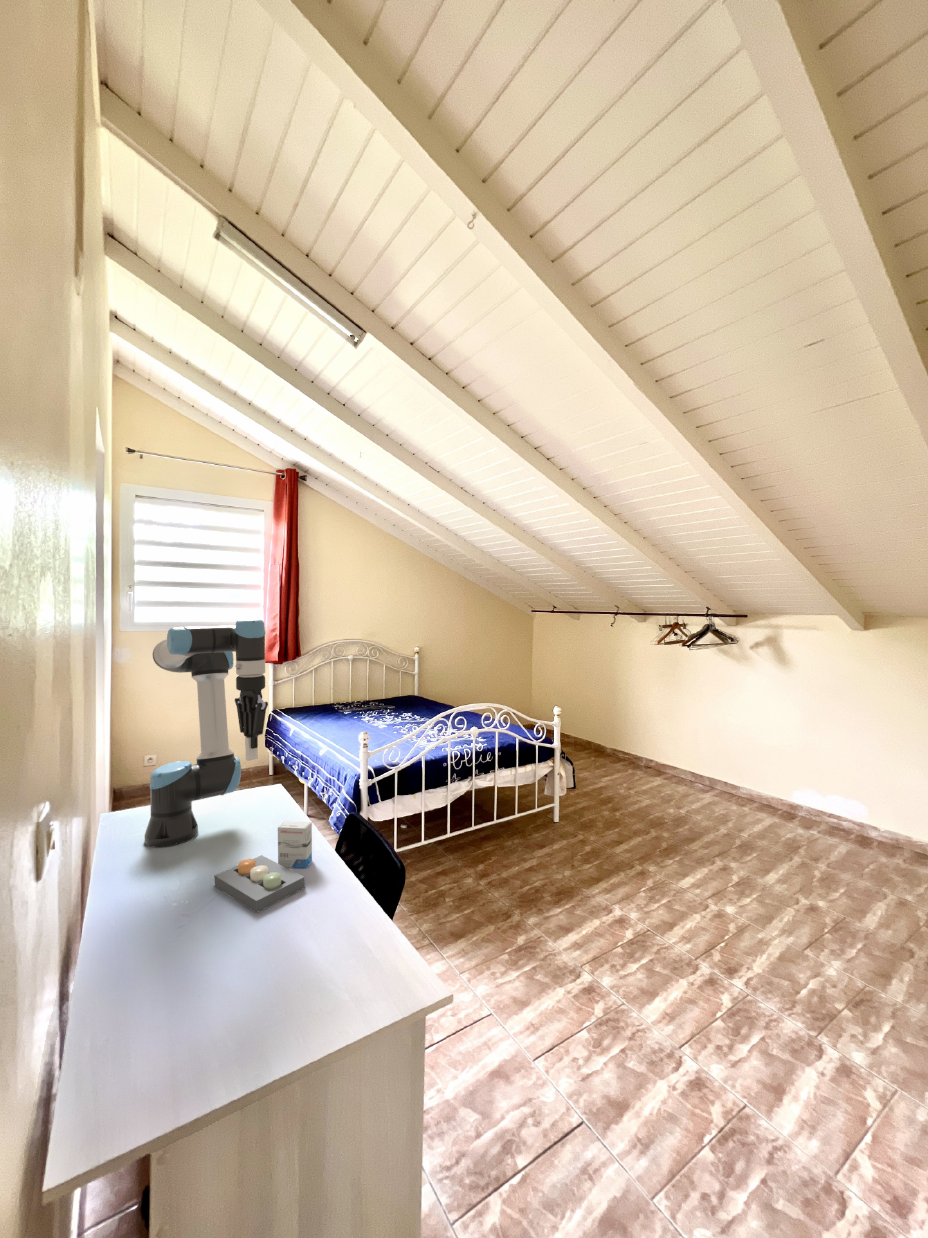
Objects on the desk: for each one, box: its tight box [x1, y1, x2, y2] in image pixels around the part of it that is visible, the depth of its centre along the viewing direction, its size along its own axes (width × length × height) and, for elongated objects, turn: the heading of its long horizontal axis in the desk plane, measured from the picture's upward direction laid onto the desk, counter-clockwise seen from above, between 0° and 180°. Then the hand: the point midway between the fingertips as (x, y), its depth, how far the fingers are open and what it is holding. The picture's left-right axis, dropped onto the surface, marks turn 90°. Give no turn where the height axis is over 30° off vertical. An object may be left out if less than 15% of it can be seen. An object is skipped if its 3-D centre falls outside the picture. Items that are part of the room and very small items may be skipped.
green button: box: [263, 872, 281, 891], centre depth 136 cm, size 4×4×4 cm
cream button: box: [250, 865, 268, 883], centre depth 140 cm, size 4×4×4 cm
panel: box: [213, 854, 306, 914], centre depth 140 cm, size 20×14×3 cm
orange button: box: [237, 858, 255, 876], centre depth 143 cm, size 4×4×4 cm
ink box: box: [277, 820, 313, 869], centre depth 152 cm, size 8×5×12 cm, turn 84°
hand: (251, 759), depth 146 cm, fingers closed
